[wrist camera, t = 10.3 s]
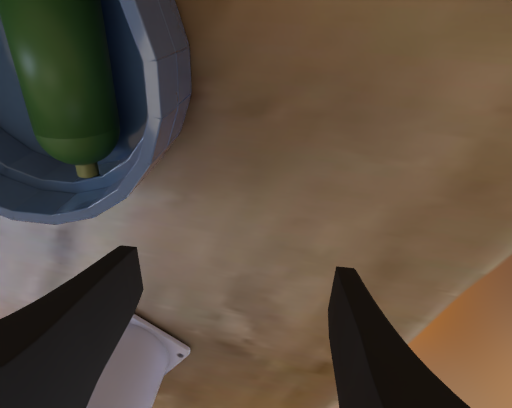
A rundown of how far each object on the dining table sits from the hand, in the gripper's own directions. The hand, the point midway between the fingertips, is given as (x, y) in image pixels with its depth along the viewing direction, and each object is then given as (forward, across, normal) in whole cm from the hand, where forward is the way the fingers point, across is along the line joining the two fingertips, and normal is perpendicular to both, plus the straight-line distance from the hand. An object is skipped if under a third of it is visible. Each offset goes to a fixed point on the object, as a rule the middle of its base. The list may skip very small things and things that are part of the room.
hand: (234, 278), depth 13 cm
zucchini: (+8, +11, -6) cm, 15 cm away
